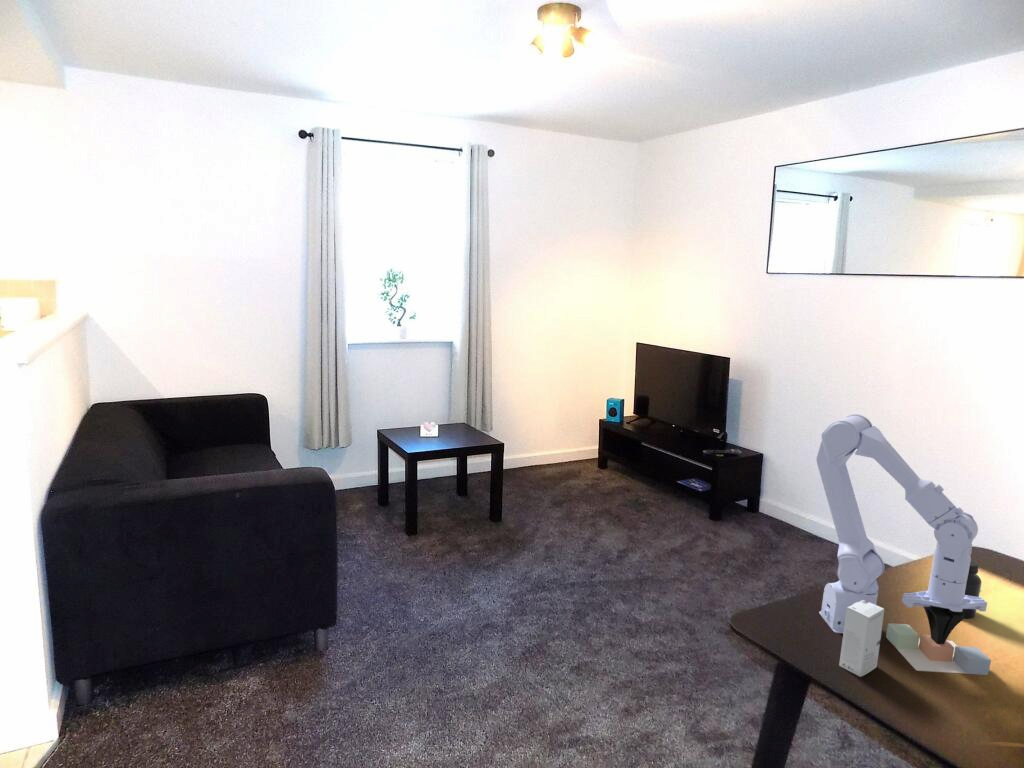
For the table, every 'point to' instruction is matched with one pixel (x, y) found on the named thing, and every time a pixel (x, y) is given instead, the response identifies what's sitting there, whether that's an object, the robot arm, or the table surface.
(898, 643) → the sage block
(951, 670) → the felt mat
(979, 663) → the slate block
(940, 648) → the terracotta block
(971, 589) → the supplement bottle
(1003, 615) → the table surface
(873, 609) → the skincare box
